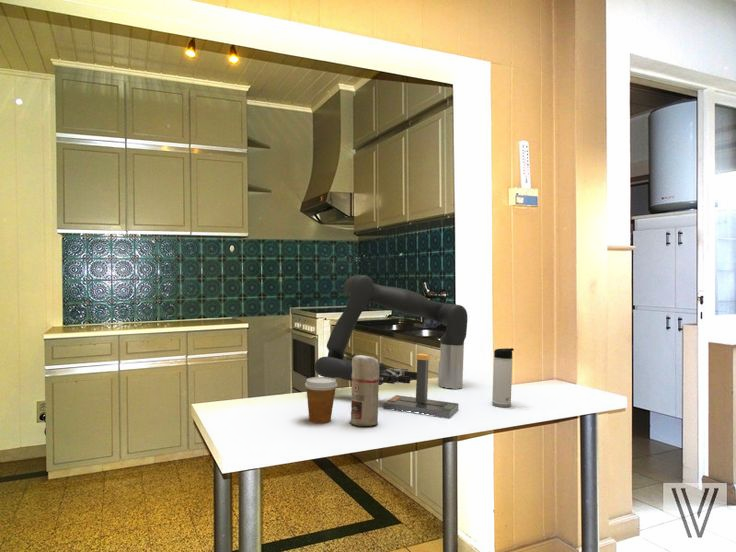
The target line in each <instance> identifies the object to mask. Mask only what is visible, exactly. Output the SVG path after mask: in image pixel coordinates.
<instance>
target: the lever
mask: <svg viewBox="0 0 736 552" xmlns="http://www.w3.org/2000/svg"><path fill="white" fill-rule="evenodd" d="M429 360H430V354H427V353H417V354H416V372H417V379H415V380H416V381H415V382H416V386H415V387H416V388H415V398H416V402H420V403H425V402H427V399H428V392H429V391H428V388H429V387H428V386H429V385H428V384H429V364H430V363H429Z"/></svg>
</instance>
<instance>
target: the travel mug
mask: <svg viewBox="0 0 736 552" xmlns="http://www.w3.org/2000/svg"><path fill="white" fill-rule="evenodd" d="M513 352H514V348H512V347H510V348H507V347H506V348H497V349H494V351H493V368H492V369H493V370H492V373H493V374H492V401H491V404H492V406H494V407H497V408H503V409H504V408H506V409H507V408H510V407H511V406H512V404H511V403H512V384H513V383H512V381H513V379H512V378H513Z"/></svg>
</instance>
